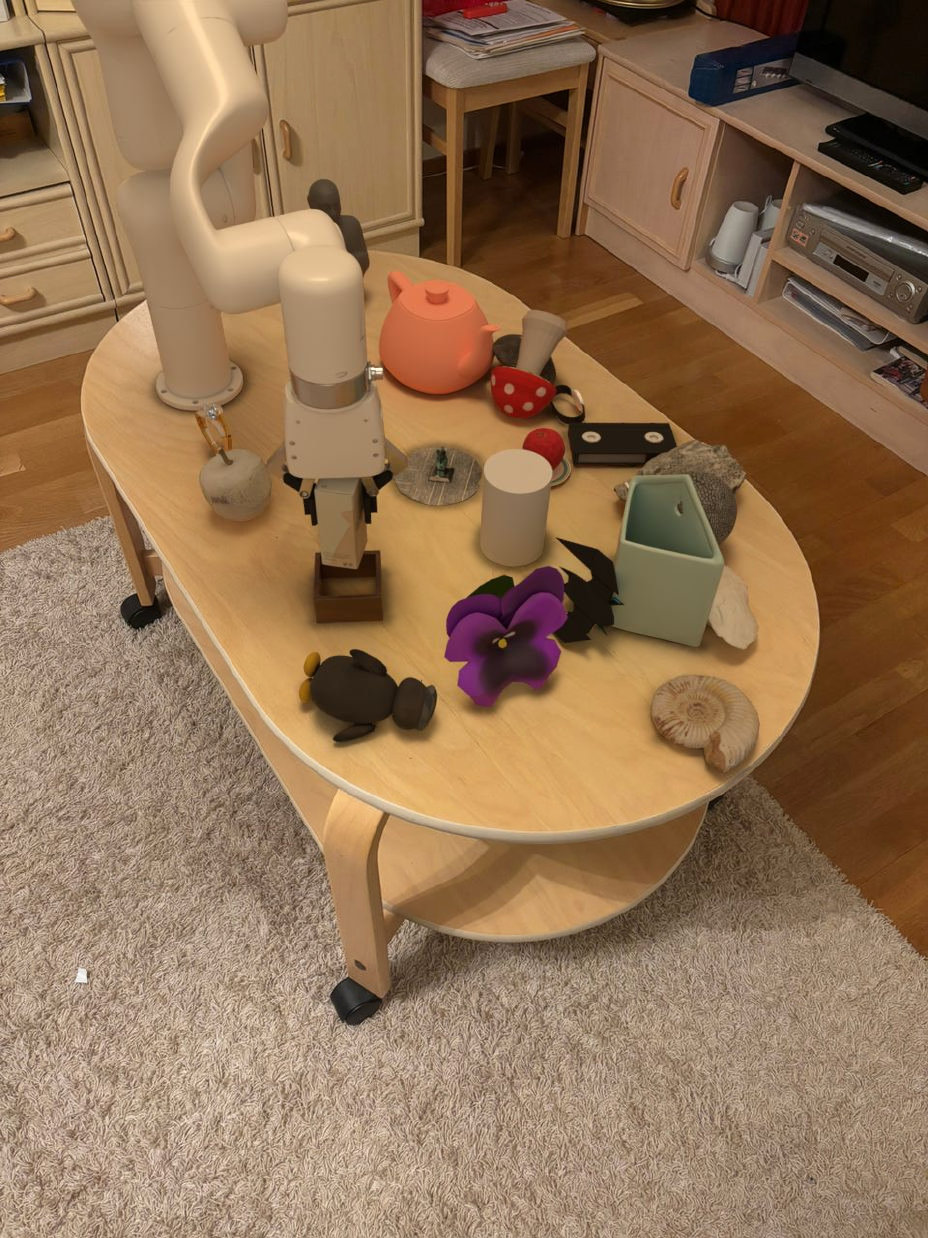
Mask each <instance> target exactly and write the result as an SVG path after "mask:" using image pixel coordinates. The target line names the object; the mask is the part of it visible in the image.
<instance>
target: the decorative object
mask: <svg viewBox="0 0 928 1238" xmlns="http://www.w3.org/2000/svg"><path fill="white" fill-rule="evenodd" d="M217 450H218V452H219V454H218V455H215V456H213V457H211V458H210V459H209V460H208V461H207V462H206V463H205V464H204V465H203V467H202V468H201V469H200V472H199V475H198V476H199V477H198V479H199V480H198V482H199V486H200V489H201V492H202V495H203V497H204V498H205V500H206V502H207V503H208V505H209V507H210V508H212V510H214V512H216V513H217V514H218V515H220V517H223V518H224V519H226V520H229V521H232V522H247V521H250V520H253V519H255V518H257V517H258V516H260V515H261V514H262V512H264V511H265V510H266V509H267V507H268V505H269V504H270V500H271V497H272V491H273V490H272V489H273V483H272V482H273V481H272V478H271V474H269V473H268V472H267V471H266V462H265V460H264V459H263V457H261V456H260V455H259V454H258V453H256V452H254V451H252V450H249V449H244V448H234V449H233V448H232V450H229V451H225V452H224V450H223V447H221V446H220V448H218V449H217Z"/></svg>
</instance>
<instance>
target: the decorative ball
mask: <svg viewBox="0 0 928 1238" xmlns="http://www.w3.org/2000/svg"><path fill="white" fill-rule="evenodd" d="M682 474H688V475H689V476H690V477H691V479H692V482H693V485H694V487H695V490H696V492H697V495H698V497H699V500H700V502H701V505H702V507H703V510H704V512H705V515H706V517H707V519H708V522H709V524H710V527H711V529H712V531H713V534H714V536H715V539H716V541H717V544H718V546H720V545H722V543H724V542H725V540H727V538H728V537H729V536H730V535H731V534H732V532H733V529H734V527H735V524H736V520H737V516H738V504H737V500H736V497H735V494H733V492H732V491H731V489H730V488H729V486H728V485H727V484H726V483H725V482H724V481H723V480H722V479H720V478H719V477H717V476H715V475H713V474H711V473H707V472H703V471H690V472H685V473H682ZM677 508H678V511H679V513H680V514H682V513H683V510H682V501H681V502H680V503H679V504H678V505H677Z"/></svg>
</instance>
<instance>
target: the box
mask: <svg viewBox="0 0 928 1238" xmlns="http://www.w3.org/2000/svg"><path fill="white" fill-rule="evenodd" d="M314 492H315V502H316V512H317V521H318V524H317V528H318V529H317V530H318V540H319V548H320V552H321V558H322V564H324V565H330V566H337V567H343V568H352V569H358V566H359V564H360V561H361V558H362V556H363V553H364V551H366V548H367V544H368V540H369V539H368V524H367V523H365V516H364V501H363V482H362V480H361V478H360V477H352V478H318V480H317V482H316V487H315V490H314Z"/></svg>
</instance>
